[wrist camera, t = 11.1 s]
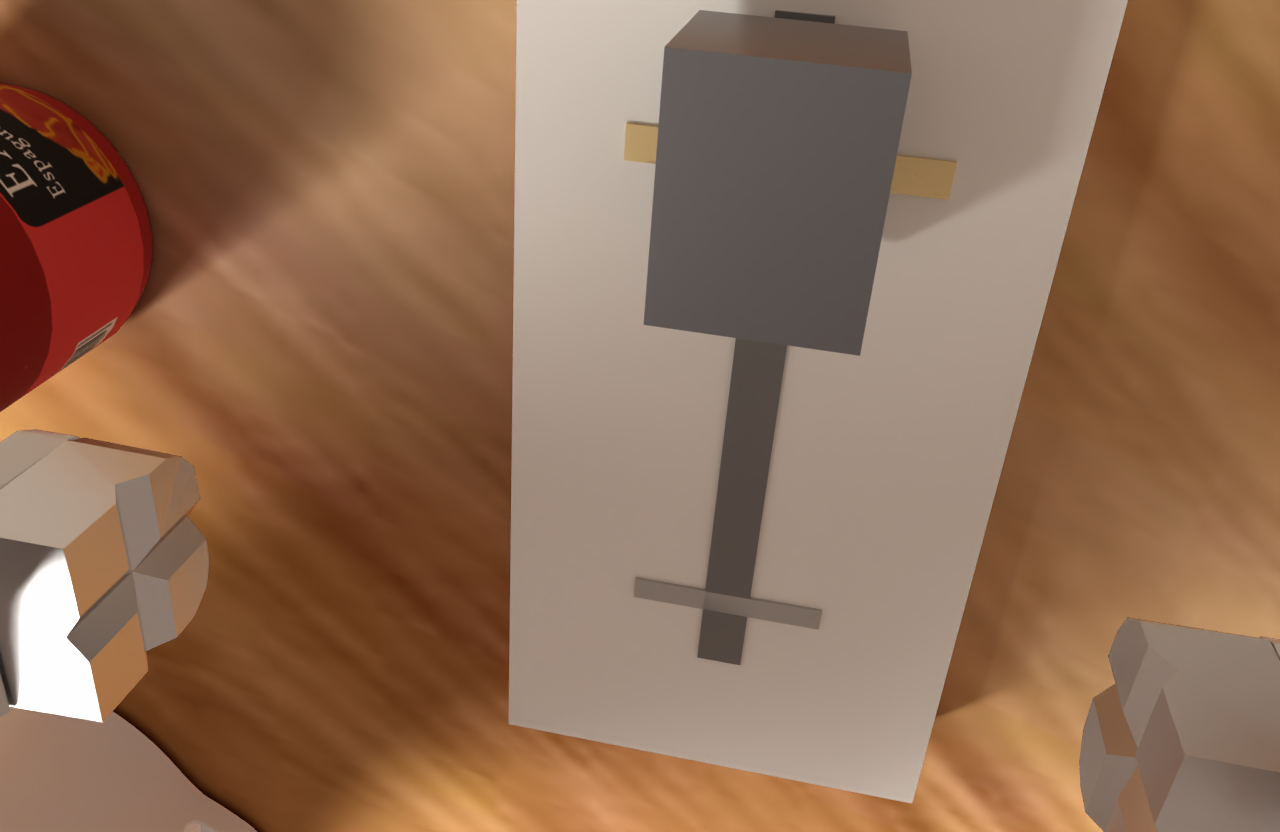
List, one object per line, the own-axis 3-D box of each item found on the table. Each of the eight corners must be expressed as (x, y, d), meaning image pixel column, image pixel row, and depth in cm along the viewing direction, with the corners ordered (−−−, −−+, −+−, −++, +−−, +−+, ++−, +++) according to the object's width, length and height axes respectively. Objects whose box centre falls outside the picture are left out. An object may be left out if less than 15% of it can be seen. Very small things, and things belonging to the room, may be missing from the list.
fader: (864, 266, 24) (860, 355, 20) (682, 242, 24) (643, 325, 20) (906, 25, 21) (912, 73, 17) (704, 5, 22) (664, 47, 18)
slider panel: (910, 728, 34) (912, 806, 31) (535, 658, 36) (507, 726, 33) (1103, -30, 23) (1131, -10, 21) (555, -81, 25) (516, -69, 22)
